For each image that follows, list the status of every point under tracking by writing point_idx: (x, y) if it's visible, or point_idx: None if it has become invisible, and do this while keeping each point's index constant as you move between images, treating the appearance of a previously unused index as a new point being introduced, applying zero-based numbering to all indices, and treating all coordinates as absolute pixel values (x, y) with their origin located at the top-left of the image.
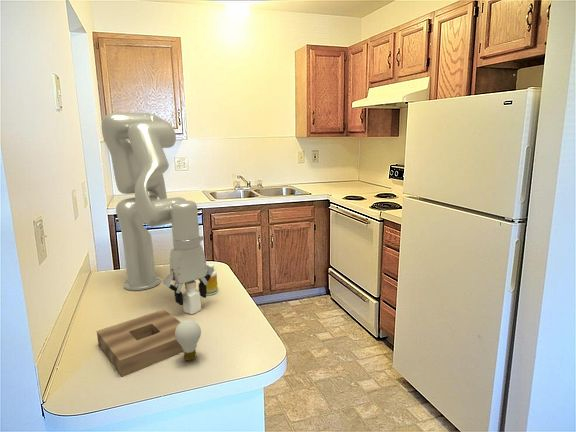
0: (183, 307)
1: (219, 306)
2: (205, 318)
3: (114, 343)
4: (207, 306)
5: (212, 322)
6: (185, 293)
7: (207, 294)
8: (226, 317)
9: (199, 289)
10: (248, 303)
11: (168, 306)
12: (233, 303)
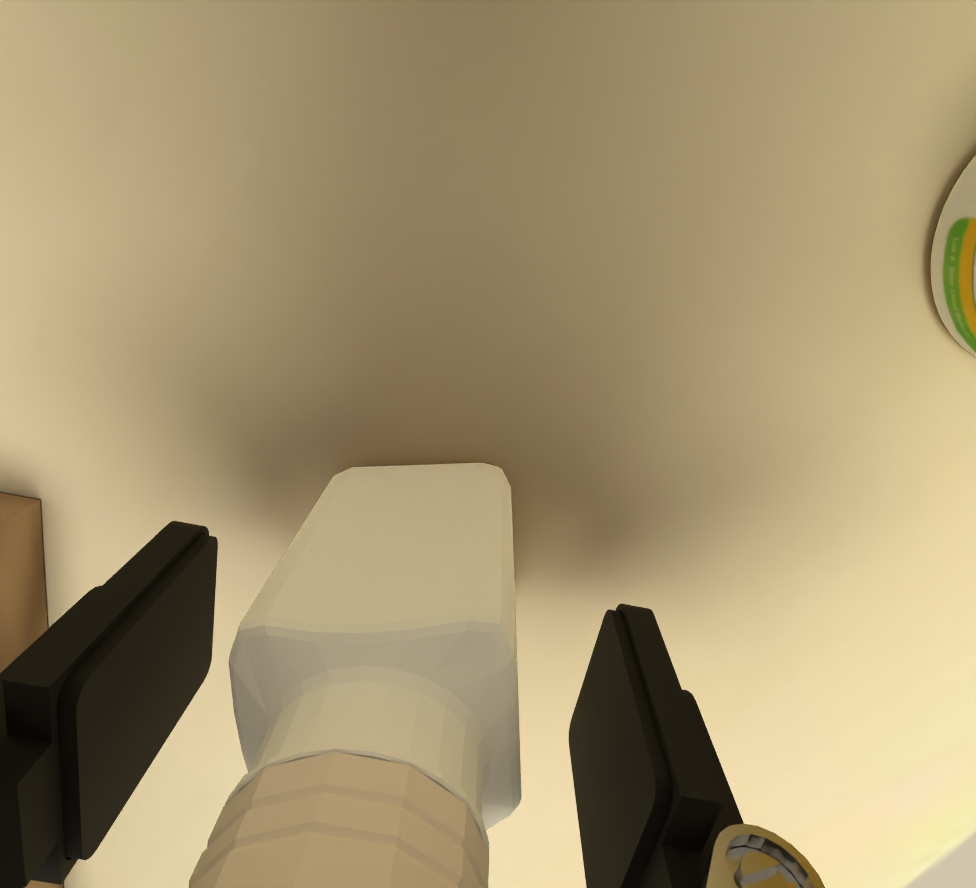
0: (319, 499)
1: (708, 682)
2: None
3: None
4: (633, 576)
5: None
6: (251, 733)
7: (943, 315)
8: (547, 875)
9: (621, 710)
10: (919, 852)
11: (293, 95)
12: (851, 746)
